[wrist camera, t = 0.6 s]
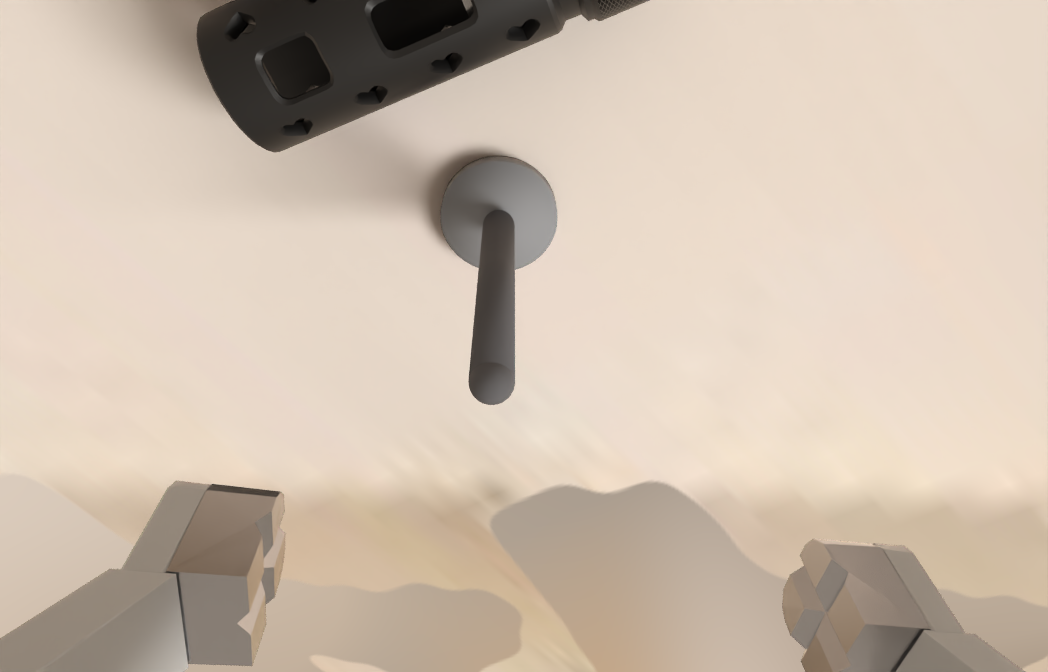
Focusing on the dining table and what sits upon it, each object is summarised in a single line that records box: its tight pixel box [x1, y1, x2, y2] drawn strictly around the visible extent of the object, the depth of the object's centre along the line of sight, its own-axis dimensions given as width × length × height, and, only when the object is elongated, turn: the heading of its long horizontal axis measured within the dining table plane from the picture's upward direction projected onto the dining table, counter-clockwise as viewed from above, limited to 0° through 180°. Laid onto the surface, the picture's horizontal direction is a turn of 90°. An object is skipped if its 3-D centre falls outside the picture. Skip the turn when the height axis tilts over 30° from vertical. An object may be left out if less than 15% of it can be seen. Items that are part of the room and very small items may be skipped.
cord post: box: [441, 156, 557, 405], centre depth 46 cm, size 9×9×24 cm
